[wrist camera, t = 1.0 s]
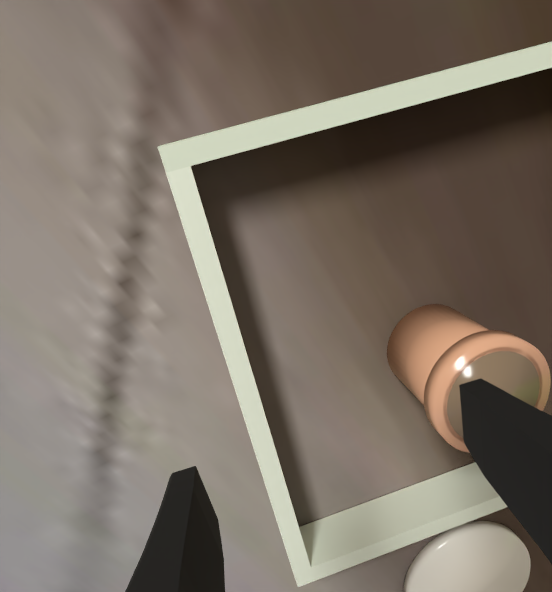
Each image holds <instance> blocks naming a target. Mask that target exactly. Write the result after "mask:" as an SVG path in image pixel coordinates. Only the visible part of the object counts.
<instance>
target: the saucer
mask: <svg viewBox="0 0 552 592" xmlns="http://www.w3.org/2000/svg"><path fill="white" fill-rule="evenodd" d="M530 568H531V566H530V556H529V553H528V550H527V548H526V546H525V545H524V543H523V542H522V541H521V540H520V539H519V538H518V537H517V535H516V534H515V533H514V532H513V531H512V530H511V529H509V528H508V527H506V526H504V525H502V524H499V523H496V522H491V521H474V522H469V523H465V524H462V525H459V526H457V527H454V528H451V529H449V530H447V531H445V532H443V533H442V534H440V535H439V536H437V537H436V538H434V539H433V540H432V541H431V542H429V543H428V544H427V545H426V546H425V547H424V548H423V549H422V550H421V551H420V552H419V554H418V555H417V556H416V557H415V559H414V560H413V562H412V564H411V565H410V567H409V570H408V572H407V574H406V577H405V581H404V590H403V592H523V590H524V588H525V586H526V584H527V581H528V578H529V574H530Z"/></svg>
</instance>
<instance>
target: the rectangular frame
mask: <svg viewBox="0 0 552 592" xmlns="http://www.w3.org/2000/svg"><path fill="white" fill-rule="evenodd" d="M548 68H552V42H548V43H544V44H541V45H537V46H533V47H529V48H526V49H522V50H518V51H514V52H511V53H507V54H503V55H499V56H496V57H492V58H488V59H484V60H481V61H477V62H473V63H469V64H465V65H462V66H458V67H454V68H450V69H447V70H443V71H439V72H435V73H432V74H428V75H424V76H420V77H417V78H413V79H409V80H405V81H402V82H398V83H394V84H390V85H387V86H383V87H379V88H375V89H371V90H368V91H364V92H360V93H356V94H353V95H349V96H345V97H341V98H338V99H334V100H330V101H326V102H323V103H319V104H315V105H311V106H308V107H304V108H300V109H296V110H293V111H289V112H285V113H281V114H277V115H274V116H270V117H266V118H262V119H259V120H255V121H251V122H247V123H244V124H240V125H236V126H232V127H229V128H225V129H221V130H217V131H214V132H210V133H206V134H202V135H198V136H195V137H191V138H187V139H183V140H180V141H176V142H172V143H168V144H165V145H161V146H158V149H159V153H160V156H161V159H162V162H163V165H164V168H165V171H166V175H167V178H168V181H169V184H170V187H171V190H172V193H173V197H174V200H175V203H176V206H177V209H178V212H179V215H180V218H181V222H182V225H183V228H184V231H185V234H186V237H187V240H188V244H189V247H190V250H191V253H192V256H193V259H194V262H195V266H196V269H197V272H198V275H199V278H200V281H201V284H202V288H203V291H204V294H205V297H206V300H207V303H208V306H209V310H210V313H211V316H212V319H213V322H214V325H215V328H216V332H217V335H218V338H219V341H220V344H221V347H222V350H223V354H224V357H225V360H226V363H227V366H228V369H229V372H230V376H231V379H232V382H233V385H234V388H235V391H236V394H237V398H238V401H239V404H240V407H241V410H242V413H243V416H244V420H245V423H246V426H247V429H248V432H249V435H250V438H251V442H252V445H253V448H254V451H255V454H256V457H257V460H258V463H259V467H260V470H261V473H262V476H263V479H264V482H265V485H266V489H267V492H268V495H269V498H270V501H271V504H272V507H273V511H274V514H275V517H276V520H277V523H278V526H279V529H280V533H281V536H282V539H283V542H284V545H285V548H286V551H287V555H288V558H289V561H290V564H291V567H292V570H293V573H294V577H295V580H296V583H297V586H298V587H300V586H303V585H305V584H308V583H310V582H313V581H316V580H318V579H321V578H323V577H326V576H329V575H331V574H334V573H337V572H339V571H342V570H344V569H347V568H350V567H352V566H355V565H357V564H360V563H363V562H365V561H368V560H371V559H373V558H376V557H378V556H381V555H384V554H386V553H389V552H391V551H394V550H397V549H399V548H402V547H404V546H407V545H410V544H412V543H415V542H418V541H420V540H423V539H425V538H428V537H431V536H433V535H436V534H438V533H441V532H444V531H446V530H449V529H451V528H454V527H457V526H459V525H462V524H465V523H467V522H470V521H472V520H475V519H478V518H480V517H483V516H485V515H488V514H491V513H493V512H496V511H498V510H501V509H504V508H506V507H508V506H507V505H506V504H505V503H504V501H503V500H502V499H501V497H500V496H499V495H498V494H497V492H496V491H495V490H494V488H493V487H492V486H491V485H490V483H489V482H488V481H487V479H486V478H485V477H484V475H483V473H482V472H481V470H480V469H479V467H478V465H477V464H476V462H474V463H472V464H469V465H466V466H463V467H461V468H458V469H455V470H453V471H450V472H447V473H444V474H442V475H439V476H436V477H434V478H431V479H428V480H425V481H423V482H420V483H417V484H415V485H412V486H409V487H406V488H404V489H401V490H398V491H396V492H393V493H390V494H387V495H385V496H382V497H379V498H377V499H374V500H371V501H368V502H366V503H363V504H360V505H358V506H355V507H352V508H349V509H347V510H344V511H341V512H339V513H336V514H333V515H330V516H328V517H325V518H322V519H320V520H317V521H314V522H311V523H309V524H306V525H303V526H300V527H299V526H298V523H297V519H296V516H295V513H294V509H293V506H292V503H291V499H290V496H289V493H288V489H287V486H286V483H285V479H284V476H283V473H282V469H281V466H280V463H279V459H278V456H277V453H276V449H275V446H274V443H273V439H272V436H271V433H270V429H269V426H268V423H267V419H266V416H265V413H264V409H263V406H262V403H261V399H260V396H259V393H258V389H257V386H256V383H255V379H254V376H253V372H252V369H251V366H250V362H249V359H248V356H247V352H246V349H245V346H244V342H243V339H242V336H241V332H240V329H239V326H238V322H237V319H236V316H235V312H234V309H233V306H232V302H231V299H230V296H229V292H228V289H227V286H226V282H225V279H224V276H223V272H222V269H221V266H220V262H219V259H218V256H217V252H216V249H215V246H214V242H213V239H212V236H211V232H210V229H209V226H208V222H207V219H206V216H205V212H204V209H203V206H202V202H201V199H200V196H199V192H198V189H197V186H196V182H195V179H194V176H193V172H192V169H191V166H193V165H196V164H200V163H204V162H207V161H211V160H215V159H218V158H222V157H226V156H229V155H233V154H237V153H240V152H244V151H248V150H251V149H255V148H259V147H262V146H266V145H270V144H273V143H277V142H281V141H284V140H288V139H292V138H295V137H299V136H303V135H306V134H310V133H314V132H317V131H321V130H325V129H328V128H332V127H336V126H339V125H343V124H347V123H350V122H354V121H358V120H361V119H365V118H369V117H372V116H376V115H380V114H383V113H387V112H391V111H394V110H398V109H402V108H405V107H409V106H413V105H416V104H420V103H424V102H427V101H431V100H435V99H438V98H442V97H446V96H449V95H453V94H457V93H460V92H464V91H468V90H471V89H475V88H479V87H482V86H486V85H490V84H493V83H497V82H501V81H504V80H508V79H512V78H515V77H519V76H523V75H526V74H530V73H534V72H537V71H541V70H545V69H548Z"/></svg>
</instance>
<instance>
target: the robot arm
mask: <svg viewBox="0 0 552 592" xmlns="http://www.w3.org/2000/svg"><path fill="white" fill-rule="evenodd" d="M459 388H460V401H461V413H462V426H463V439H464V443H465V445H466V447H467V449H468V450H469V452H470V454H471V455H472V457H473V459H474V461H475V462H476V464H477V465H478V467H479V469H480V470H481V472H482V473H483V475H484V477H485V478H486V479H487V481H488V482H489V483H490V485H491V486H492V487H493V488H494V490H495V491H496V492H497V494H498V495H499V496H500V497H501V499H502V500H503V501H504V503H505V504H506V505H507V506H508V508H509V509H510V510H511V512H512V513H513V514H514V515H515V517H516V518H517V519H518V520H519V522H520V523H521V524H522V526H523V527H524V528H525V529H526V531H527V532H528V533H529V535H530V536H531V537H532V538H533V540H534V541H535V542H536V543H537V545H538V546H539V547H540V549H541V550H542V551H543V553H544V554H545V555H546V557H547V558H548V560H549V561H550V562H551V564H552V416H551V415H549V414H547V413H545V412H543V411H541V410H539V409H537V408H535V407H533V406H531V405H529V404H528V403H526V402H524V401H522V400H520V399H518V398H516V397H515V396H513V395H511V394H509V393H507V392H505V391H504V390H502V389H500V388H498V387H496V386H495V385H493V384H491V383H489V382H487V381H485V380H483V379H481V378H480V379H477V380H474V381H470V382H467V383H464V384H461V385H459ZM125 592H225V582H224V558H223V551H222V544H221V537H220V530H219V523H218V518H217V516H216V514H215V511H214V509H213V506H212V504H211V502H210V499H209V497H208V494H207V492H206V490H205V487H204V485H203V482H202V480H201V478H200V475H199V473H198V470H197V468H196V466H194V467H191V468H187V469H184V470H181V471H178V472H174V473H172V475H171V476H170V479H169V482H168V485H167V488H166V491H165V494H164V498H163V501H162V503H161V506H160V509H159V512H158V515H157V518H156V520H155V523H154V526H153V528H152V531H151V533H150V536H149V538H148V541H147V543H146V546H145V549H144V551H143V553H142V556H141V558H140V560H139V563H138V565H137V567H136V569H135V571H134V574H133V576H132V578H131V580H130V582H129V585H128V587H127V589H126V591H125Z"/></svg>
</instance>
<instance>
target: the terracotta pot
mask: <svg viewBox="0 0 552 592" xmlns="http://www.w3.org/2000/svg"><path fill="white" fill-rule="evenodd" d="M387 359H388V363H389V366H390V368H391V370H392V372H393V373H394V375H395V376H396V377H397V378H398V379H399V380H400V381H401V382H402V383H403V384H404V385H405V386H406V387H407V388H408V389H409V390H410V391H411V392H412V393H413V394H414V396H415V397H416V398H417V399H418V400H419V401H420V402H421V403H422V404H423V405H424V408H425V412H426V415H427V418H428V420H429V422H430V423H431V425H432V426H433V427H434V428H435V429H436V431H437V432H438V433H439V434H440V435H441V436H442V437H443V438H444V439H445V440H446V441H447V442H448V443H449V444H450V445H451V446H453V447H455V448H456V449H458V450H461V451H464V452H468V453H470V452H469V450H468V449H467V447H466V445H465V443H464V439H463V426H462V413H461V401H460V388H459V385H461V384H464V383H467V382H470V381H474V380H477V379H480V378H481V379H483V380H485V381H487V382H489V383H491V384H493V385H495V386H496V387H498V388H500V389H502V390H504V391H505V392H507V393H509V394H511V395H513V396H515V397H516V398H518V399H520V400H522V401H524V402H526V403H528V404H529V405H531V406H533V407H535V408H537V409H539V410H541V411H543V409H544V407H545V405H546V402H547V400H548V396H549V391H550V371H549V367H548V364H547V362H546V360H545V358H544V356H543V355H542V354H541V352H540V351H539V350H538V349H537V348H535V347H534V346H533V345H531V344H530V343H528V342H526V341H524V340H522V339H521V338H519V337H517V336H515V335H513V334H511V333H508V332H505V331H500V330H488V329H486V328H485V327H483V326H481V325H480V324H478V323H476V322H475V321H473V320H471V319H470V318H468V317H466V316H465V315H463V314H461V313H460V312H458V311H456V310H454V309H453V308H451V307H449V306H445V305H440V304H430V305H425V306H422V307H419V308H417V309H415V310H413V311H411V312H410V313H408V314H407V315H406V316H405V317H403V318H402V319H401V320H400V322H399V323H398V324H397V325H396V327H395V328H394V330H393V332H392V334H391V336H390V338H389V342H388V347H387Z"/></svg>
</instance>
